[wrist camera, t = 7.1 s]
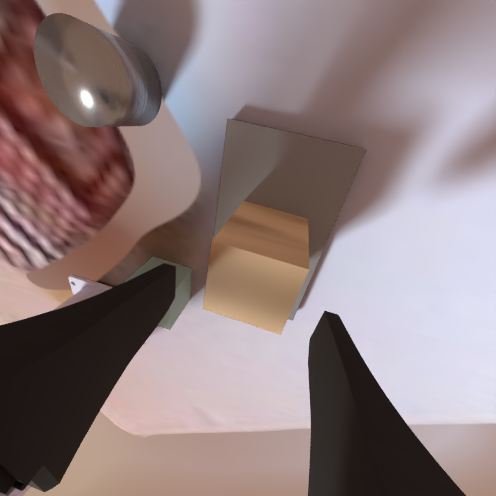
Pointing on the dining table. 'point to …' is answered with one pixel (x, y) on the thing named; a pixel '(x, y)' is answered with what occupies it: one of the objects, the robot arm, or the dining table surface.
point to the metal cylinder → (95, 74)
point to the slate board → (287, 180)
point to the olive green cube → (180, 294)
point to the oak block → (257, 266)
